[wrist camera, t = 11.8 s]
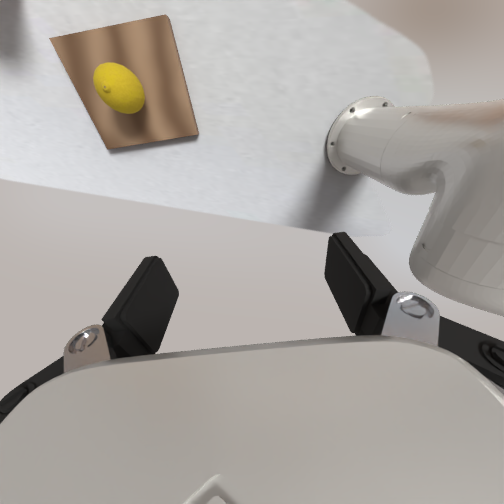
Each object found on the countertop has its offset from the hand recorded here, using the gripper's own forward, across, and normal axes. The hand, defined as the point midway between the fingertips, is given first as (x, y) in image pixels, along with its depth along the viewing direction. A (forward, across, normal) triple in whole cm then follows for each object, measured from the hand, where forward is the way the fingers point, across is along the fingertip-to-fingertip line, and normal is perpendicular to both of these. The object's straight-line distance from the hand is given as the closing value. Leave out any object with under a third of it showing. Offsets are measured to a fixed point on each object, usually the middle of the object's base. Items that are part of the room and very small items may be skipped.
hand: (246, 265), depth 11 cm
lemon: (+32, +16, -12) cm, 38 cm away
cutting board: (+33, +16, -12) cm, 39 cm away
